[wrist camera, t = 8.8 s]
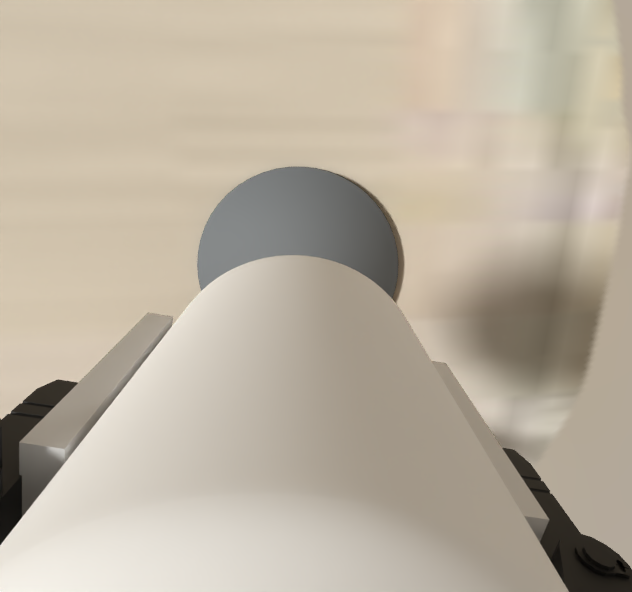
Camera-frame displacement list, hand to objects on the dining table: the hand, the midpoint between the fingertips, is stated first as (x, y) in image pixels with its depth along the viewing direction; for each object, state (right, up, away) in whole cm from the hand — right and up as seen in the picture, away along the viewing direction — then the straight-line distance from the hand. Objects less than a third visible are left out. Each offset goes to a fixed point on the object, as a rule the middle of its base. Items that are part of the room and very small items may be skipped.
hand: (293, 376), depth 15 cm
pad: (0, +4, +13) cm, 13 cm away
